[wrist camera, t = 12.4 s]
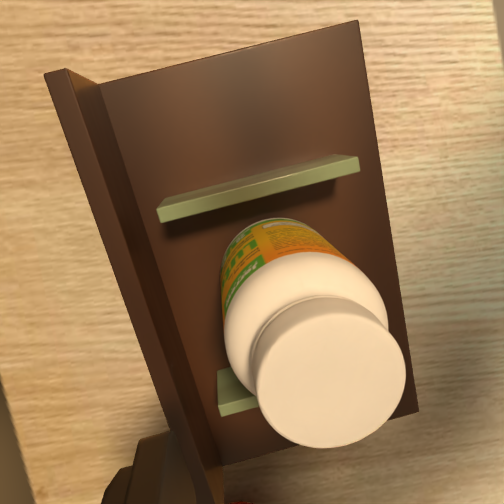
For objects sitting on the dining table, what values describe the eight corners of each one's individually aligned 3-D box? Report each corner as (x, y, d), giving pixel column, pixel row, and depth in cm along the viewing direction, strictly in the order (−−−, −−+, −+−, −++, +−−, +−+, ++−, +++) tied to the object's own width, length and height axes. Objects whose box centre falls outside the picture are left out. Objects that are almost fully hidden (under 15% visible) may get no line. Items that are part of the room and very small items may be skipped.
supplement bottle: (232, 205, 19) (254, 267, 10) (343, 228, 20) (462, 306, 11) (209, 313, 20) (208, 460, 11) (314, 330, 21) (397, 482, 12)
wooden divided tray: (327, 44, 22) (400, -16, 14) (383, 365, 28) (461, 467, 19) (108, 99, 22) (42, 73, 13) (208, 413, 28) (208, 538, 19)
